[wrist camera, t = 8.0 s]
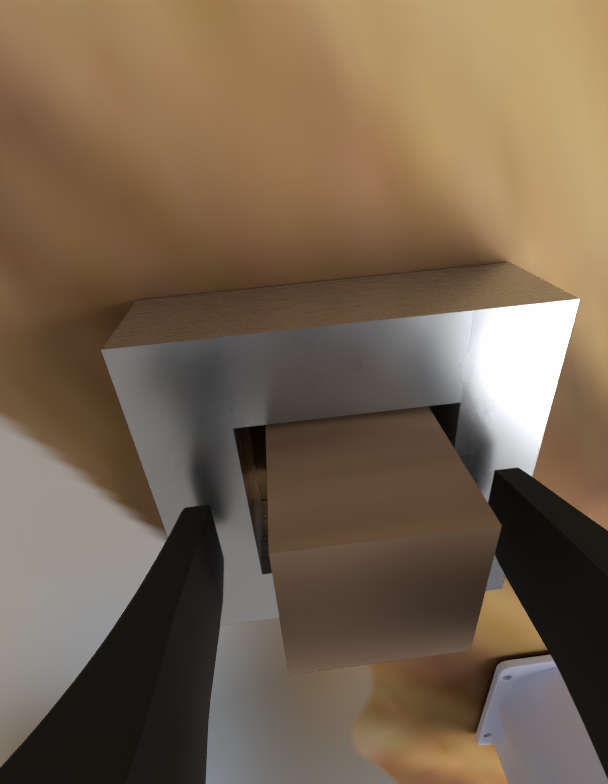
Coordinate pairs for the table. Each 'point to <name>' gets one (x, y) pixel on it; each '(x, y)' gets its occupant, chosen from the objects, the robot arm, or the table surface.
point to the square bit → (374, 539)
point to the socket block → (331, 385)
